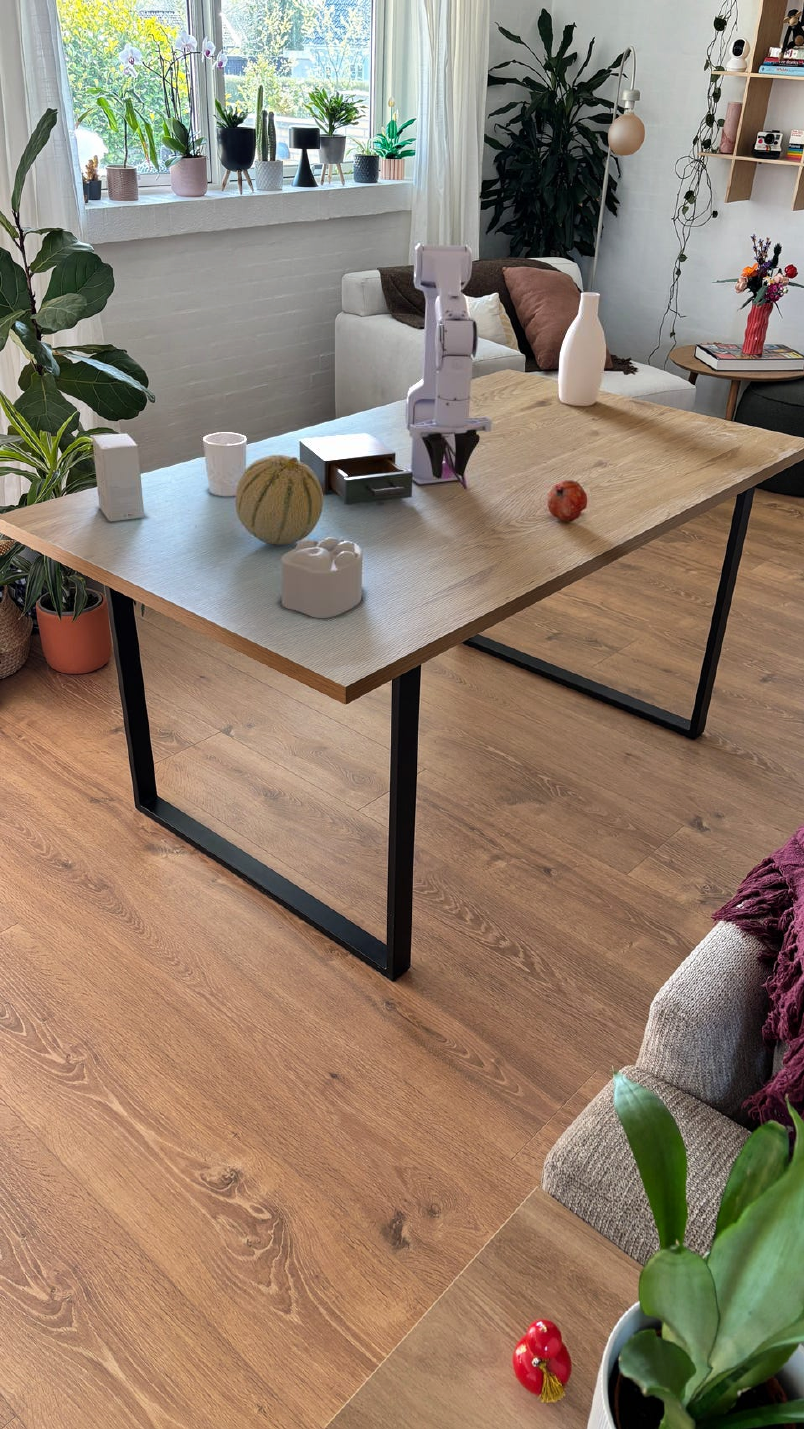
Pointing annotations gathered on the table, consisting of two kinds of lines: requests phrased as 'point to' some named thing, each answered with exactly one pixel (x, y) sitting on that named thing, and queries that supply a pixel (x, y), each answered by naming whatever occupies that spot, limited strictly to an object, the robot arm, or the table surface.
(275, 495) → the cantaloupe
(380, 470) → the drawer
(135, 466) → the small box
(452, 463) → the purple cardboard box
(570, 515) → the pomegranate
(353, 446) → the cabinet
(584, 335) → the bottle
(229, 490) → the white cup
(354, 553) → the lumpy-topped squat cylinder
